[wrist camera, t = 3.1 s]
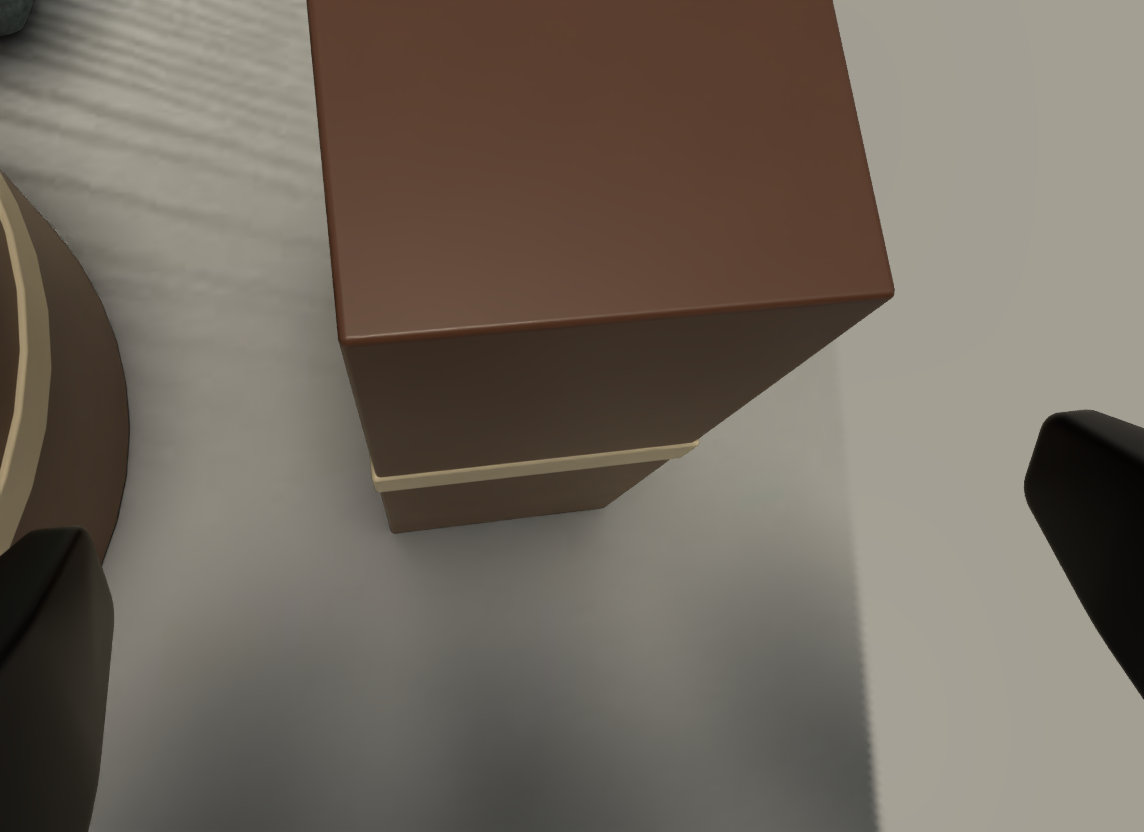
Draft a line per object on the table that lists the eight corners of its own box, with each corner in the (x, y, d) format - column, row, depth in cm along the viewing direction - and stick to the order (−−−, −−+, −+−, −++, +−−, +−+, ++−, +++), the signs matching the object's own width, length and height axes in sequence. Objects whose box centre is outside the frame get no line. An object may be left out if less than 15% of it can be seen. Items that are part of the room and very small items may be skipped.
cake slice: (608, 509, 20) (907, 302, 8) (389, 536, 20) (331, 353, 7) (568, 235, 22) (771, -323, 9) (360, 250, 21) (268, -339, 8)
